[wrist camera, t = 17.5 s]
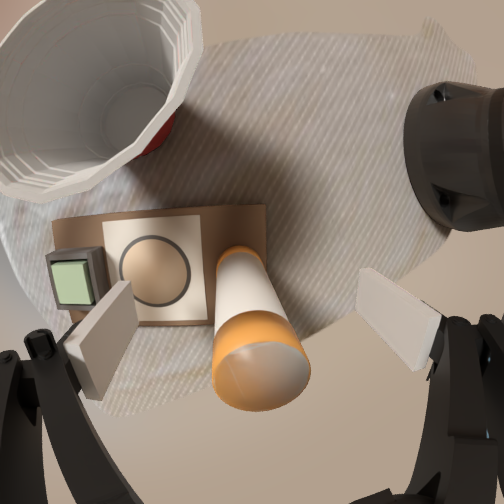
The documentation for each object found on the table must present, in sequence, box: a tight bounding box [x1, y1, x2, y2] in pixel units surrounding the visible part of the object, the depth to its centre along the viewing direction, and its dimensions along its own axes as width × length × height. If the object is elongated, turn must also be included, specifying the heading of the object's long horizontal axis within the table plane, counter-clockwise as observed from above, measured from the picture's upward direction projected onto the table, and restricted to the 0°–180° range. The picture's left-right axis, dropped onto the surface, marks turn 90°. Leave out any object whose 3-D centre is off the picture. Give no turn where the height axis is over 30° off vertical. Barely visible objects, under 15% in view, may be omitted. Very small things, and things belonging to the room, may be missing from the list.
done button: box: [51, 259, 95, 304], centre depth 17 cm, size 3×3×2 cm
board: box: [45, 204, 267, 326], centre depth 19 cm, size 17×9×3 cm, turn 91°
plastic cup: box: [0, 0, 204, 204], centre depth 11 cm, size 11×11×12 cm
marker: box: [212, 245, 311, 412], centre depth 14 cm, size 3×3×12 cm
